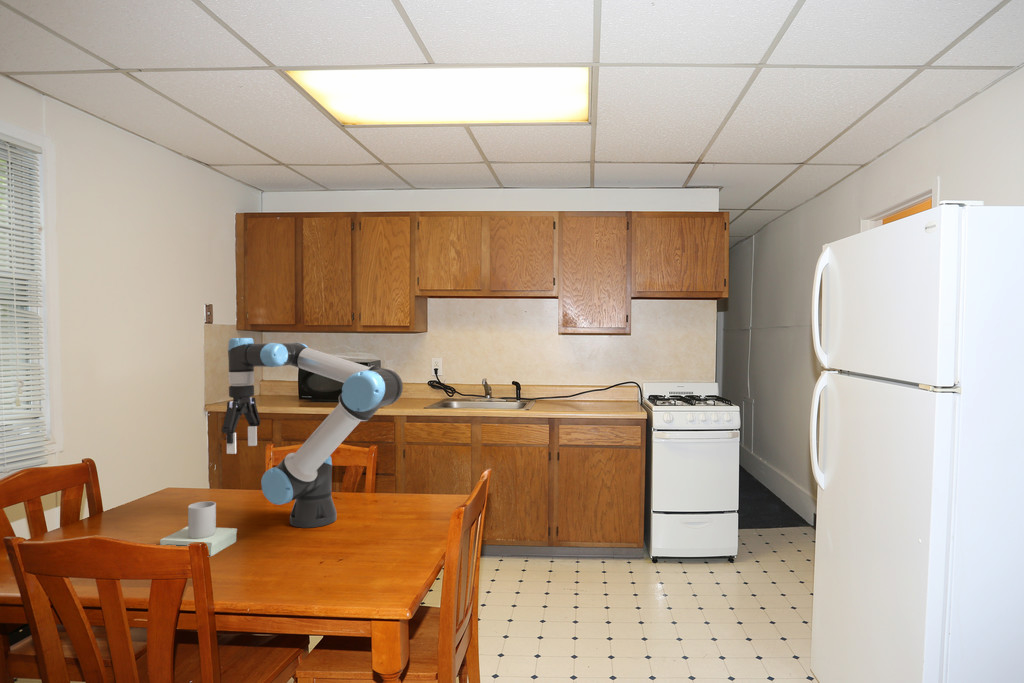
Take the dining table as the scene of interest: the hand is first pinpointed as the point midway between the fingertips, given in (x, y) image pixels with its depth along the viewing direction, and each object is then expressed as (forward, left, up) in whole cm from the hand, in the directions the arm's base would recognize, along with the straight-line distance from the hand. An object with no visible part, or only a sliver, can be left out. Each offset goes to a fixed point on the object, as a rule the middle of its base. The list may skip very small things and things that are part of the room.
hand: (242, 449), depth 186 cm
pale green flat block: (+2, +18, -26) cm, 31 cm away
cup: (+2, +18, -22) cm, 28 cm away
